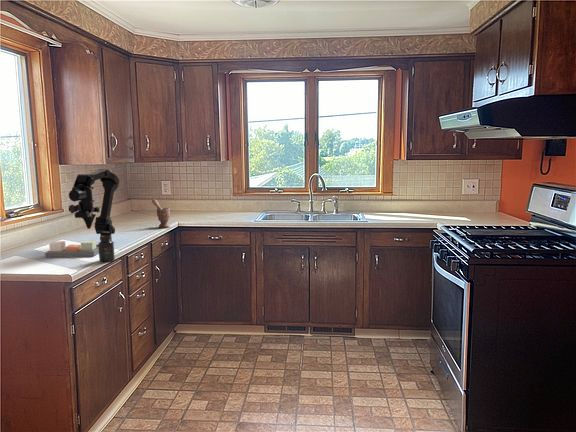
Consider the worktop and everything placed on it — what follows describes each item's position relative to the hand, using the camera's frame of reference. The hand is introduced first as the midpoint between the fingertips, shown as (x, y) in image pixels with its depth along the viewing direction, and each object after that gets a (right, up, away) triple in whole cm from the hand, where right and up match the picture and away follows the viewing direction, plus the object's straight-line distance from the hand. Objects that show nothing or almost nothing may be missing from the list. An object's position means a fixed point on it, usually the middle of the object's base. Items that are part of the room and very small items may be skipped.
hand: (88, 228), depth 230 cm
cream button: (-12, -11, -8) cm, 18 cm away
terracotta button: (-4, -12, -7) cm, 15 cm away
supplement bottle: (+17, -15, -19) cm, 30 cm away
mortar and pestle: (+19, -2, +69) cm, 72 cm away
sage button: (+3, -10, -7) cm, 13 cm away
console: (-4, -13, -7) cm, 15 cm away
